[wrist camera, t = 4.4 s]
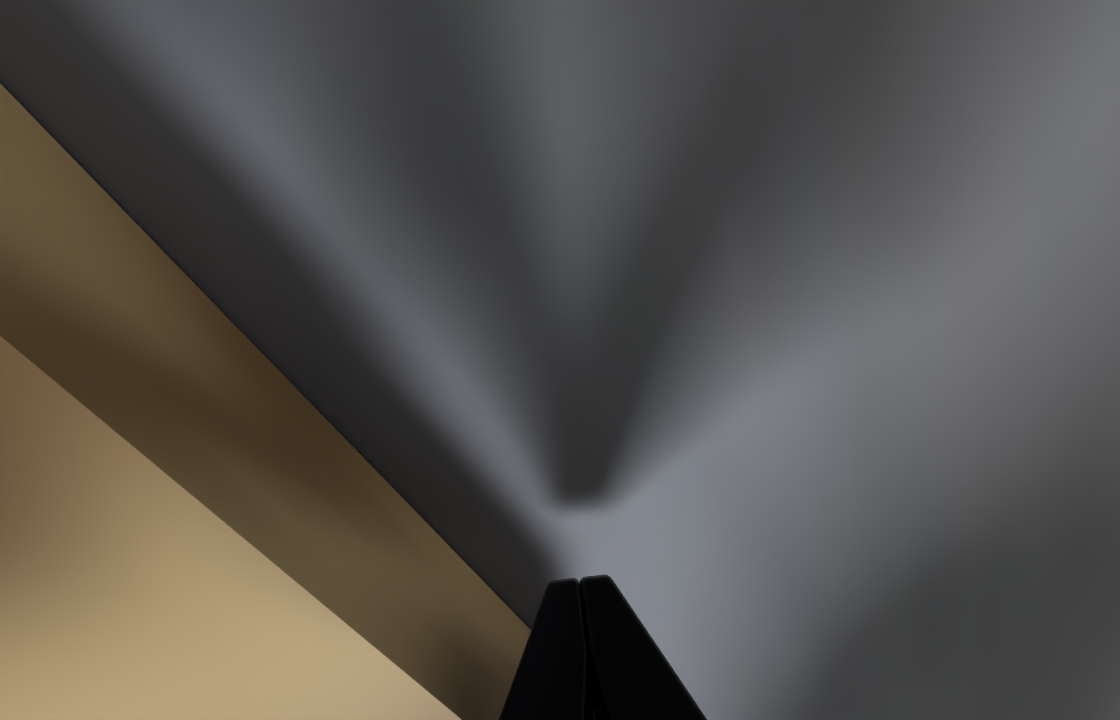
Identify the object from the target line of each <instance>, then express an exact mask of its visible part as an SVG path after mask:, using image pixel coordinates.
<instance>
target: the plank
mask: <svg viewBox="0 0 1120 720" xmlns="http://www.w3.org/2000/svg"><path fill="white" fill-rule="evenodd" d="M530 632H531V630H530V629H529V628H528V627H527V626H526V625H525V624H524V623H523V621H522V620H521V619H520V618H519V617H518V616H517V615H516V614H515V613H514V612H513V611H512V610H511V609H510V608H509V607H508V606H507V605H506V604H505V603H504V602H503V601H502V600H501V599H500V598H499V597H498V596H497V595H496V594H495V593H494V592H493V591H492V590H491V589H490V587H489V586H488V585H487V584H486V583H485V582H484V581H483V580H482V579H481V578H480V577H479V576H478V575H477V574H476V573H475V572H474V571H473V570H472V569H471V568H470V567H469V566H468V565H467V564H466V563H465V562H464V561H463V560H462V559H461V558H460V557H459V556H458V555H457V553H456V552H455V551H454V550H453V549H452V548H451V547H450V546H449V545H448V544H447V543H446V542H445V541H444V540H443V539H442V538H441V537H440V536H439V535H438V534H437V533H436V532H435V531H434V530H433V529H432V528H431V527H430V526H429V525H428V524H427V523H426V522H425V521H424V519H423V518H422V517H421V516H420V515H419V514H418V513H417V512H416V511H415V510H414V509H413V508H412V507H411V506H410V505H409V504H408V503H407V502H406V501H405V500H404V499H403V498H402V497H401V496H400V495H399V494H398V493H397V492H396V491H395V490H394V489H393V488H392V487H391V485H390V484H389V483H388V482H387V481H386V480H385V479H384V478H383V477H382V476H381V475H380V474H379V473H378V472H377V471H376V470H375V469H374V468H373V467H372V466H371V465H370V464H369V463H368V462H367V461H366V460H365V459H364V458H363V457H362V456H361V455H360V454H359V453H358V451H357V450H356V449H355V448H354V447H353V446H352V445H351V444H350V443H349V442H348V441H347V440H346V439H345V438H344V437H343V436H342V435H341V434H340V433H339V432H338V431H337V430H336V429H335V428H334V427H333V426H332V425H331V424H330V423H329V422H328V421H327V420H326V419H325V417H324V416H323V415H322V414H321V413H320V412H319V411H318V410H317V409H316V408H315V407H314V406H313V405H312V404H311V403H310V402H309V401H308V400H307V399H306V398H305V397H304V396H303V395H302V394H301V393H300V392H299V391H298V390H297V389H296V388H295V387H294V386H293V385H292V383H291V382H290V381H289V380H288V379H287V378H286V377H285V376H284V375H283V374H282V373H281V372H280V371H279V370H278V369H277V368H276V367H275V366H274V365H273V364H272V363H271V362H270V361H269V360H268V359H267V358H266V357H265V356H264V355H263V354H262V353H261V352H260V351H259V349H258V348H257V347H256V346H255V345H254V344H253V343H252V342H251V341H250V340H249V339H248V338H247V337H246V336H245V335H244V334H243V333H242V332H241V331H240V330H239V329H238V328H237V327H236V326H235V325H234V324H233V323H232V322H231V321H230V320H229V319H228V318H227V317H226V315H225V314H224V313H223V312H222V311H221V310H220V309H219V308H218V307H217V306H216V305H215V304H214V303H213V302H212V301H211V300H210V299H209V298H208V297H207V296H206V295H205V294H204V293H203V292H202V291H201V290H200V289H199V288H198V287H197V286H196V285H195V284H194V283H193V281H192V280H191V279H190V278H189V277H188V276H187V275H186V274H185V273H184V272H183V271H182V270H181V269H180V268H179V267H178V266H177V265H176V264H175V263H174V262H173V261H172V260H171V259H170V258H169V257H168V256H167V255H166V254H165V253H164V252H163V251H162V250H161V249H160V247H159V246H158V245H157V244H156V243H155V242H154V241H153V240H152V239H151V238H150V237H149V236H148V235H147V234H146V233H145V232H144V231H143V230H142V229H141V228H140V227H139V226H138V225H137V224H136V223H135V222H134V221H133V220H132V219H131V218H130V217H129V216H128V215H127V213H126V212H125V211H124V210H123V209H122V208H121V207H120V206H119V205H118V204H117V203H116V202H115V201H114V200H113V199H112V198H111V197H110V196H109V195H108V194H107V193H106V192H105V191H104V190H103V189H102V188H101V187H100V186H99V185H98V184H97V183H96V182H95V181H94V179H93V178H92V177H91V176H90V175H89V174H88V173H87V172H86V171H85V170H84V169H83V168H82V167H81V166H80V165H79V164H78V163H77V162H76V161H75V160H74V159H73V158H72V157H71V156H70V155H69V154H68V153H67V152H66V151H65V150H64V149H63V148H62V146H61V145H60V144H59V143H58V142H57V141H56V140H55V139H54V138H53V137H52V136H51V135H50V134H49V133H48V132H47V131H46V130H45V129H44V128H43V127H42V126H41V125H40V124H39V123H38V122H37V121H36V120H35V119H34V118H33V117H32V116H31V115H30V114H29V112H28V111H27V110H26V109H25V108H24V107H23V106H22V105H21V104H20V103H19V102H18V101H17V100H16V99H15V98H14V97H13V96H12V95H11V94H10V93H9V92H8V91H7V90H6V89H5V88H4V87H3V86H2V85H1V84H0V720H499V717H500V714H501V711H502V709H503V706H504V703H505V700H506V698H507V695H508V692H509V689H510V687H511V684H512V681H513V678H514V676H515V673H516V670H517V667H518V665H519V662H520V659H521V657H522V654H523V651H524V648H525V646H526V643H527V640H528V637H529V635H530Z"/></svg>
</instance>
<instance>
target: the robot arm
mask: <svg viewBox="0 0 1120 720" xmlns="http://www.w3.org/2000/svg"><path fill="white" fill-rule="evenodd" d="M594 719H595V720H707V719H706V717H705V716H704V714H703V713H702V711H701V710H700V708H699V707H698V705H697V704H696V702H695V701H694V700H693V698H692V697H691V695H690V694H689V692H688V691H687V689H686V688H685V686H684V685H683V683H682V682H681V680H680V679H679V677H678V676H677V674H676V673H675V671H674V670H673V668H672V667H671V665H670V664H669V663H668V661H667V660H666V658H665V657H664V655H663V654H662V652H661V651H660V649H659V648H658V646H657V645H656V643H655V642H654V640H653V639H652V637H651V636H650V634H649V633H648V631H647V630H646V628H645V627H644V626H643V624H642V623H641V621H640V620H639V618H638V617H637V615H636V614H635V612H634V611H633V609H632V608H631V606H630V605H629V603H628V602H627V600H626V599H625V597H624V596H623V594H622V593H621V591H620V590H619V588H618V587H617V586H616V584H615V583H614V581H613V580H612V579H611V577H610V576H608V575H597V576H588V577H583V578H582V579H581V580H580V584H579V581H578V580H577V579H575V578H570V579H561V580H553V581H551V582H550V583H549V584H548V586H547V588H546V591H545V594H544V596H543V599H542V602H541V604H540V607H539V610H538V613H537V615H536V618H535V621H534V624H533V626H532V629H531V632H530V635H529V637H528V640H527V643H526V646H525V648H524V651H523V654H522V657H521V659H520V662H519V665H518V667H517V670H516V673H515V676H514V678H513V681H512V684H511V687H510V689H509V692H508V695H507V698H506V700H505V703H504V706H503V709H502V711H501V714H500V717H499V720H594Z"/></svg>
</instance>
